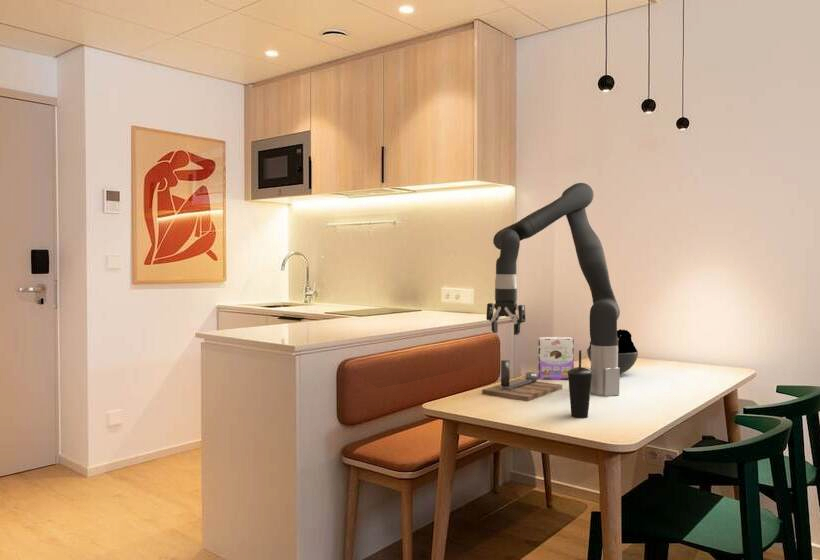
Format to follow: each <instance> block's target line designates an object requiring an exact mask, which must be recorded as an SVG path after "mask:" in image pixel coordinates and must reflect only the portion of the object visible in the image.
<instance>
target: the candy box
mask: <svg viewBox="0 0 820 560" xmlns="http://www.w3.org/2000/svg"><path fill="white" fill-rule="evenodd" d="M536 339H537V341H536V342H537V343H536V345H537V347H536V355H537V357H536V359H537V360H536V373H537V380H548V381H549V380H551V381H552V380H559V381H561V380H562V381H563V380H565V381H569V380H568V373H567V370H570V369H572V368H575V366H574V365H575V363H574V358H575V356H574V351H575V348H574V346H575V345H574V342H575V341H574V338H573V337H571V336H537V338H536Z"/></svg>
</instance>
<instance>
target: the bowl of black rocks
mask: <svg viewBox="0 0 820 560" xmlns="http://www.w3.org/2000/svg"><path fill="white" fill-rule="evenodd" d="M617 336H618V368H620V375H621V374H624V373H625V372H628V371H629V370H630V369H632V367H633V366H634V365H635V363H636V361H637V359H638V356H639V351H638V349H637V347H636V345H635V344H634V342H633V341H632V333H631V332H630V331H628V330H627V329H621V328H620V329H617ZM586 355H587V357H588V360H589V361H590V363H591V340H590V341H589V346H588V348H587V349H586Z"/></svg>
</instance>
